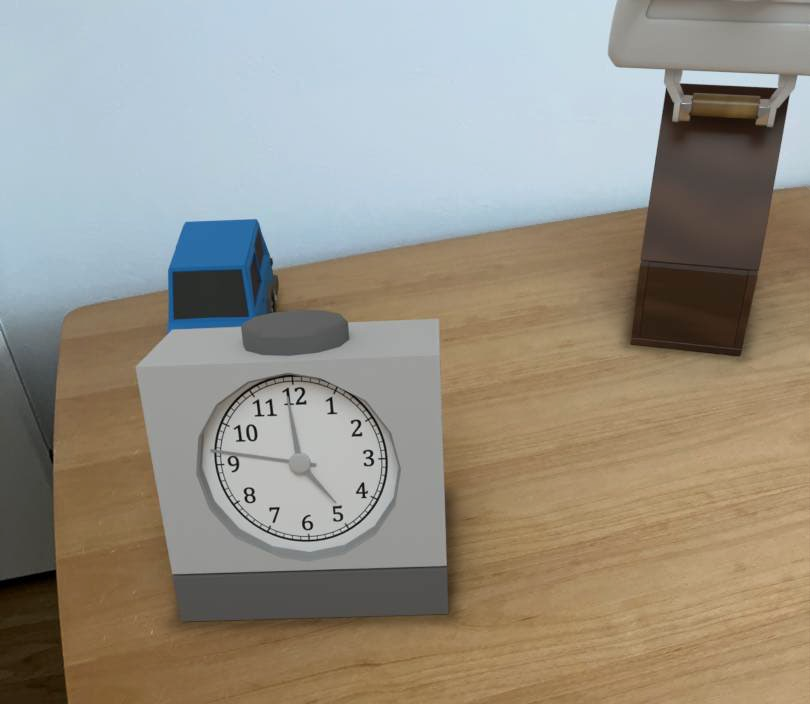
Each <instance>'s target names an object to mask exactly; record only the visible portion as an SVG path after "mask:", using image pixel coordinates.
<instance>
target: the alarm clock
mask: <svg viewBox="0 0 810 704" xmlns="http://www.w3.org/2000/svg"><path fill="white" fill-rule="evenodd" d="M135 374H136V379H137V384H138V389H139V390H138V391H139V396H140V402H141V406H142V407H141V408H142V413H143V418H144V425H145V430H146V434H147V441H148V446H149V452H150V457H151V462H152V468H153V474H154V479H155V486H156V491H157V497H158V503H159V508H160V513H161V519H162V525H163V530H164V531H163V532H164V537H165V542H166V547H167V552H168V558H169V563H170V570H171V574H172V581H173V587H174V592H175V598H176V602H177V608H178V614H179V619H180V622H181V623H183V622H216V621H218V622H219V621H221V622H222V621H252V620H253V621H254V620H257V621H258V620H286V619H287V620H288V619H289V620H290V619H321V618H323V619H325V618H356V617H357V618H359V617H360V618H362V617H363V618H364V617H391V616H392V617H393V616H394V617H395V616H431V615H449V589H448V588H449V587H448V556H447V555H448V553H447V521H446V519H447V518H446V488H445V487H446V485H445V459H444V458H445V457H444V455H445V453H444V431H443V430H444V427H443V426H444V424H443V397H442V394H443V393H442V369H441V336H440V318H423V319H422V318H420V319H401V320H400V319H399V320H397V319H395V320H374V321H373V320H372V321H369V320H368V321H349V322H348V321H347V320H346V318H345V317H344V316H343V315H342V314H341V313H340V312H335V311H330V310H326V309H325V310H324V309H323V310H322V309H321V310H320V309H294V310H285V311H276V312H275V313H270V314H266V315H262V316H257V317H254V318H252V319H250V320H248V321H247V322H245V323H243V325H242V326H241V327H224V328H200V329H176V330H171V331H170V332H169V333H168V334H167V333H166V335H165V336H164V337H163V338H162V339H161V340H160V341H159V342H158V344H156V345H155V346H154V347H153V348H152V350H150V352H149V353H147V355H146V356H144V358H143V359H142V360H141V361H139V363H137V365H136V366H135Z"/></svg>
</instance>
